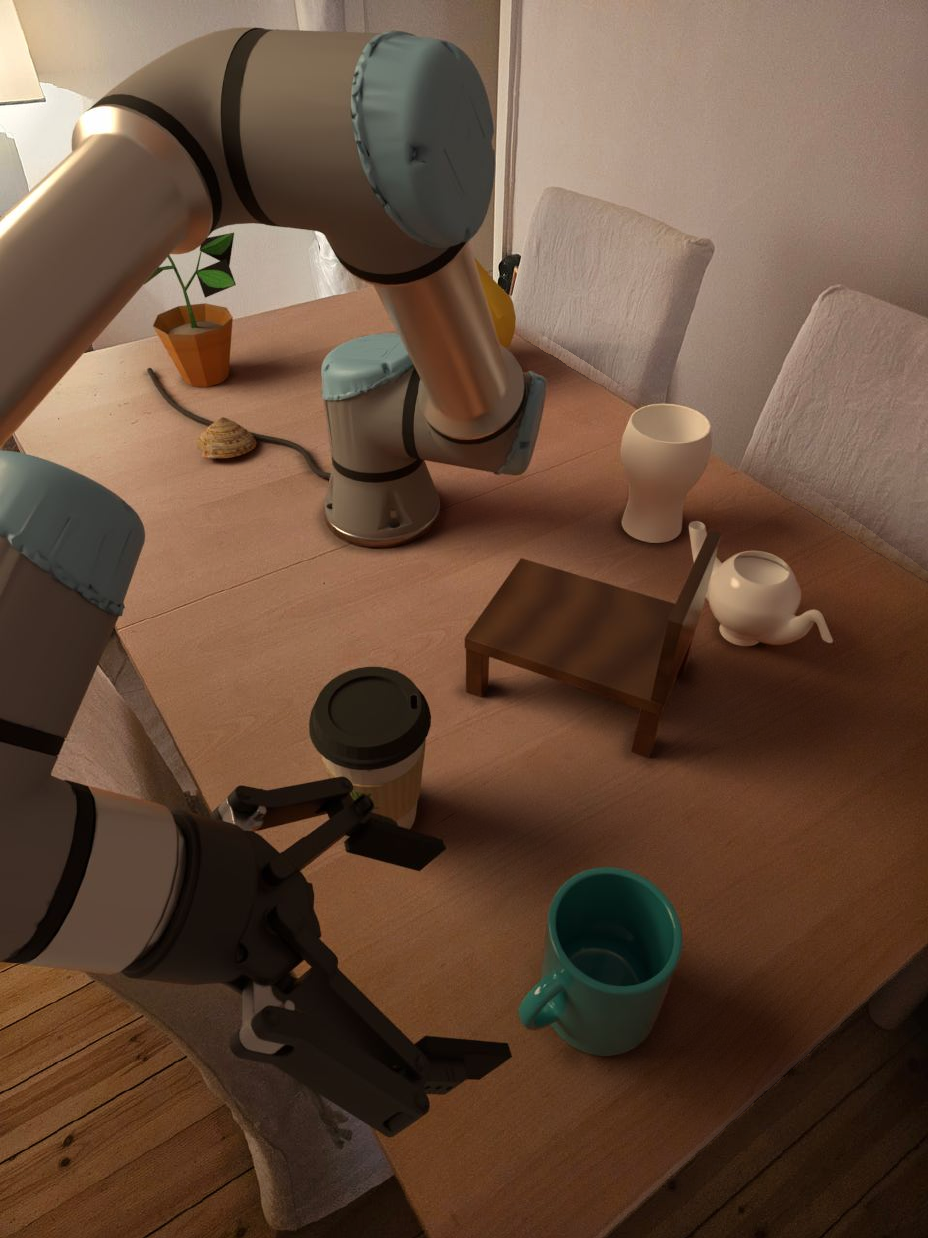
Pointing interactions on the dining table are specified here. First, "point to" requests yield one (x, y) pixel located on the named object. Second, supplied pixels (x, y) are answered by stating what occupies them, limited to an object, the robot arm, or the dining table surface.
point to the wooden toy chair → (592, 635)
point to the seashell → (225, 440)
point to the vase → (498, 307)
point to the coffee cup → (374, 737)
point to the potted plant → (201, 320)
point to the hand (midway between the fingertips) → (460, 949)
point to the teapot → (756, 597)
